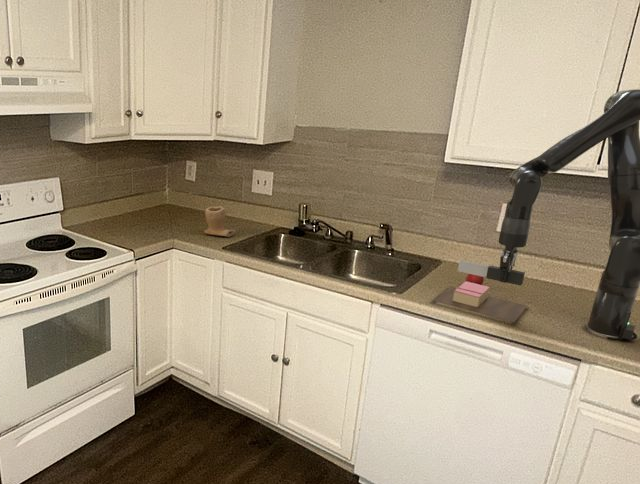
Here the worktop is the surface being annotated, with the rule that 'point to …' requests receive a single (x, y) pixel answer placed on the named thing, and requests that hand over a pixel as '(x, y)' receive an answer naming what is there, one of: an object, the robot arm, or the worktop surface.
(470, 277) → the onion
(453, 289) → the cake board
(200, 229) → the worktop surface
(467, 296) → the pink and tan block
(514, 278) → the knife
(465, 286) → the cake
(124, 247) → the worktop surface
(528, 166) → the robot arm
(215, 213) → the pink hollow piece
